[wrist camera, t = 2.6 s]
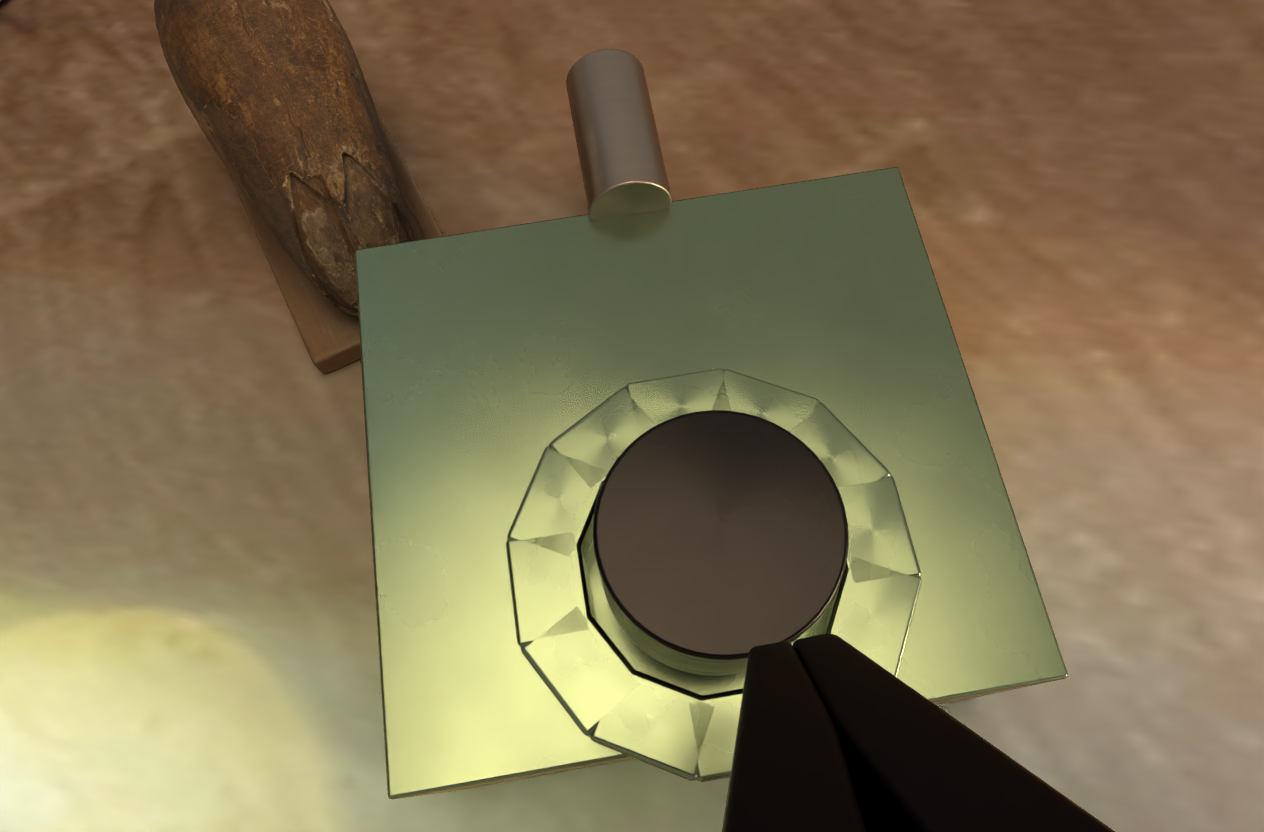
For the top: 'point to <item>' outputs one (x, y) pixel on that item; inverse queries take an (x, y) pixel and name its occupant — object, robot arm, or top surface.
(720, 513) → the black short cylinder
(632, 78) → the spout
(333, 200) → the figurine
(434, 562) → the push button base
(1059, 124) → the top surface
